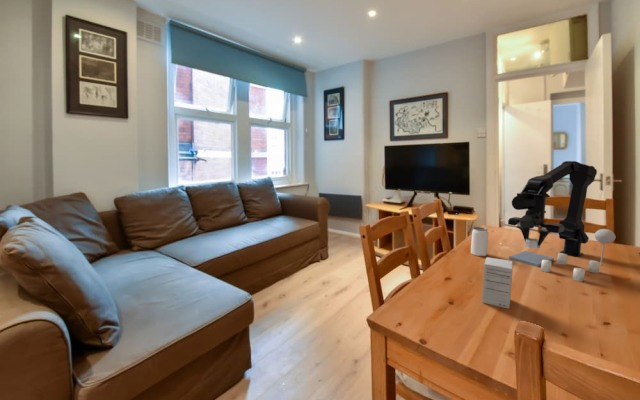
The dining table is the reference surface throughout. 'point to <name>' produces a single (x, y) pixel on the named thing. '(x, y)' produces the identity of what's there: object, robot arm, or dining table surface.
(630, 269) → the dining table surface
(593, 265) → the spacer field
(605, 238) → the lollipop
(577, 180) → the robot arm
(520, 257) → the board
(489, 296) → the supplement box
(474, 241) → the can
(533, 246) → the grey faceted polyhedron
